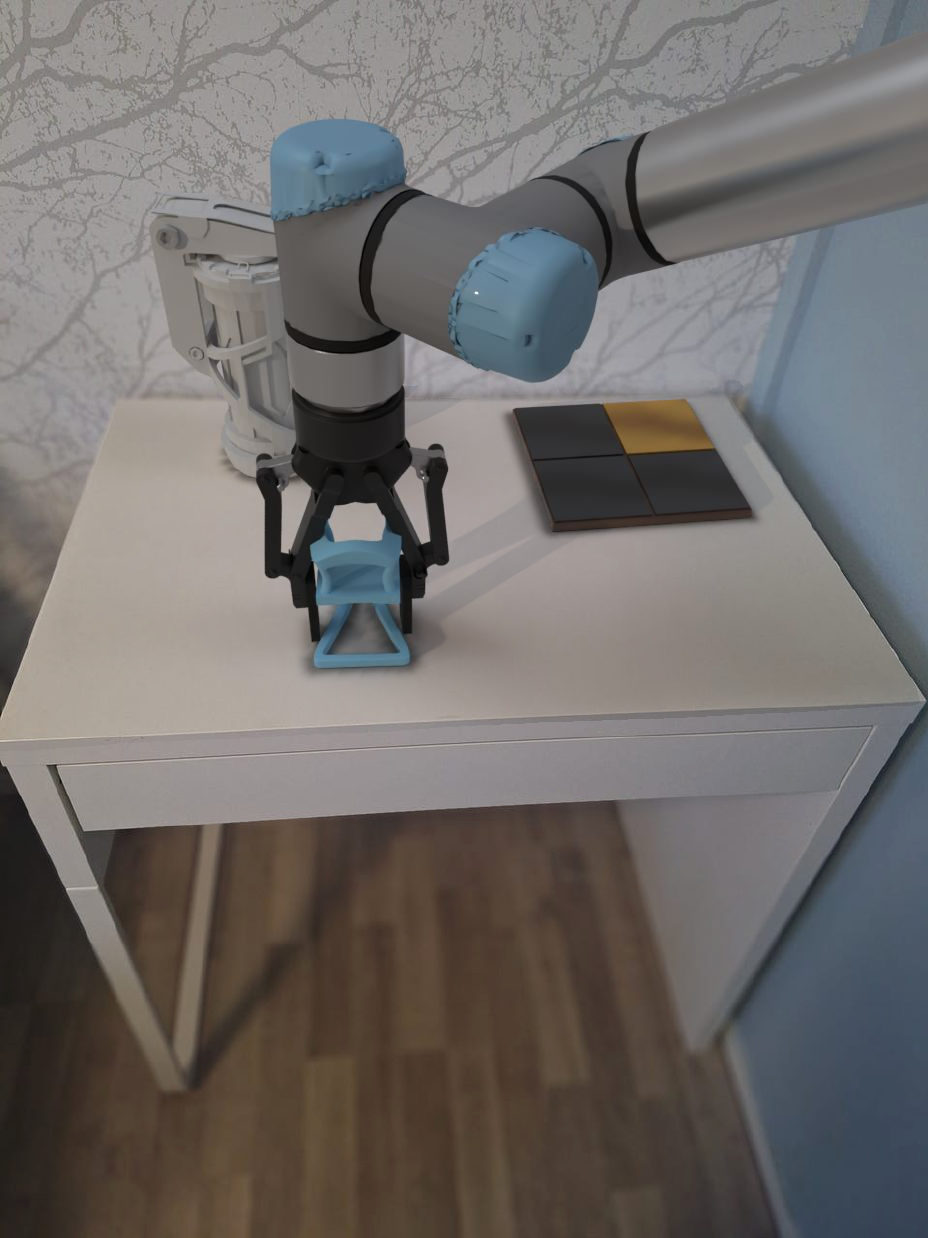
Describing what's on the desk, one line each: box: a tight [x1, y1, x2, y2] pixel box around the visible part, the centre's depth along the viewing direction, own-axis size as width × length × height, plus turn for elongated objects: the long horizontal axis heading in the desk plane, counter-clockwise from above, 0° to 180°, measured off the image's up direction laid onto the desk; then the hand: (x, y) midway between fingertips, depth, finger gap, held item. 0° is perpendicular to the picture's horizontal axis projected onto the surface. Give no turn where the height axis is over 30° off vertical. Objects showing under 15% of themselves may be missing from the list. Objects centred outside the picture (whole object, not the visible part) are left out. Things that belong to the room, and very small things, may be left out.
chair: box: [310, 518, 411, 669], centre depth 73 cm, size 8×8×12 cm
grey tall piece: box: [148, 189, 298, 479], centre depth 86 cm, size 13×10×25 cm
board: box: [511, 398, 753, 532], centre depth 96 cm, size 20×20×1 cm
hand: (360, 625), depth 77 cm, fingers closed on chair, 7 cm apart
